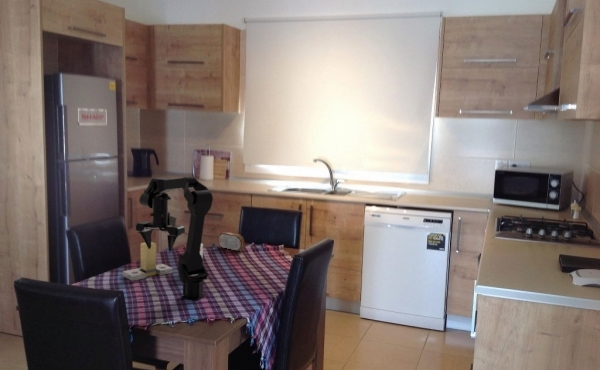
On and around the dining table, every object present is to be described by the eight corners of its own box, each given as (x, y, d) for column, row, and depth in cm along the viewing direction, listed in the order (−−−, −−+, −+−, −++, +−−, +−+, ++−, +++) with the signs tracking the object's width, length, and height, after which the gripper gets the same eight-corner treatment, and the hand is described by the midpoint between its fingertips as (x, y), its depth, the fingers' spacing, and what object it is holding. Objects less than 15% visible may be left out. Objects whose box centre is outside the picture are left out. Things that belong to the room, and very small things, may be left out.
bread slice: (244, 251, 259) (245, 234, 258) (240, 252, 256) (241, 235, 255) (221, 246, 267) (221, 230, 266) (217, 247, 264) (217, 231, 263)
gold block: (156, 274, 216) (156, 243, 215) (145, 276, 213) (145, 245, 211) (150, 272, 219) (150, 241, 218) (140, 274, 216) (140, 243, 215)
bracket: (173, 272, 220) (173, 268, 219) (132, 280, 207) (132, 275, 207) (163, 268, 225) (163, 263, 225) (122, 276, 213) (122, 270, 213)
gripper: (192, 209, 208) (191, 248, 210) (151, 205, 213) (151, 242, 215) (177, 213, 197) (176, 254, 199) (134, 209, 203) (134, 249, 205)
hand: (159, 249), depth 205 cm, fingers open, 9 cm apart
